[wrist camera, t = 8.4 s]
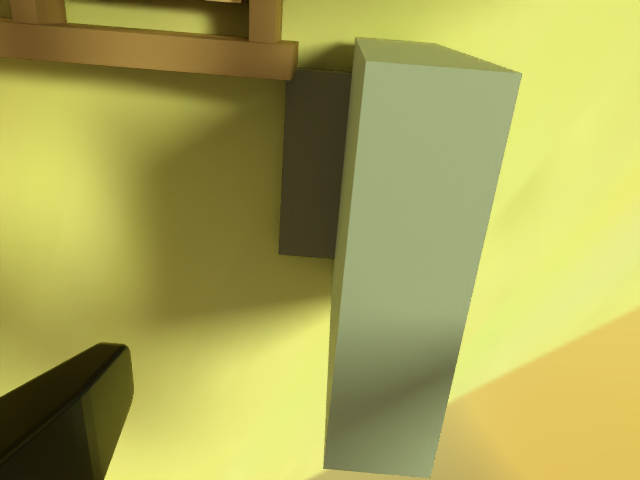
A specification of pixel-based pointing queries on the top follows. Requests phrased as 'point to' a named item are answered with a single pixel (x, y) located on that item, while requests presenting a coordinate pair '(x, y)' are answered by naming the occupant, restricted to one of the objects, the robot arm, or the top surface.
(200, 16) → the top surface
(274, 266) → the top surface
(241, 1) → the offcut stack
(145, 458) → the top surface
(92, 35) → the rack
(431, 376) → the grey square block
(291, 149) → the rubber mat
